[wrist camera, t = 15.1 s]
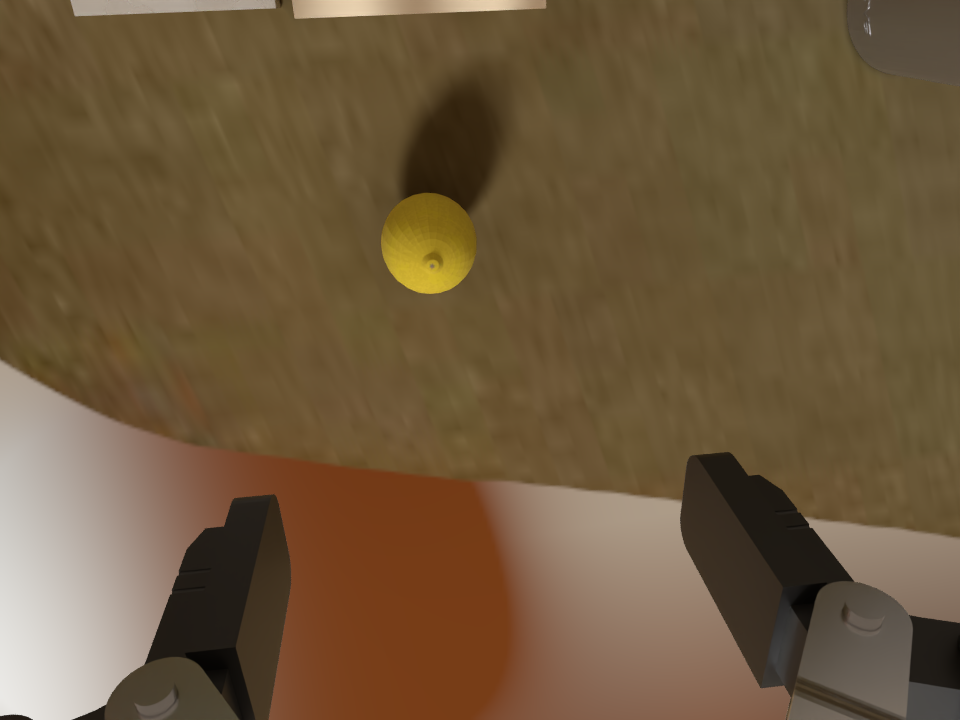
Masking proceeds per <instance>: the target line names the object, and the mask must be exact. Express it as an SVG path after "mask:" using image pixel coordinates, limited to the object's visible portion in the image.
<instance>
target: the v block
mask: <svg viewBox="0 0 960 720" xmlns="http://www.w3.org/2000/svg"><path fill="white" fill-rule="evenodd" d="M71 3H72V7H73V11H74V14H75V16H90V15H115V14H140V13H165V12H190V11H215V10H240V9H265V8H280V7H281V3H280V0H71Z"/></svg>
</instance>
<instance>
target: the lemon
mask: <svg viewBox="0 0 960 720" xmlns="http://www.w3.org/2000/svg"><path fill="white" fill-rule="evenodd" d="M381 247H382V252H383V257H384V260H385V262H386V264H387V266H388V268H389V270H390V272H391V273H392V274H393V275H394V277H395V278H396V279H397V280H398V281H399V282H400V283H402V284H403V285H405V286H406V287H407V288H409V289H412V290H414V291H417V292H420V293H427V294H432V293H440V292H443V291H446V290H449V289H451V288H453V287H454V286H456V285H457V284H459V283H460V282H461V281H462V280H463V279H464V278H465V276H466V275H467V274H468V272H469V270H470V268H471V267H472V265H473V262H474V258H475V254H476V234H475V230H474V226H473V223H472V221H471V220H470V218H469V216H468V214H467V213H466V211H465V210H464V209H463V208H462V207H461V206H460V205H459V204H458V203H456V202H455V201H453V200H451V199H450V198H448V197H446V196H443V195H440V194H436V193H421V194H416V195H412V196H410V197H408V198H406V199H404V200H402V201H401V202H400V203H399V204H398V205H396V206H395V207H394V208H393V210H392V211H391V212H390V214H389V215H388V217H387V219H386V221H385V224H384V227H383V230H382V238H381Z"/></svg>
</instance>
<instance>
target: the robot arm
mask: <svg viewBox="0 0 960 720" xmlns="http://www.w3.org/2000/svg"><path fill="white" fill-rule="evenodd" d="M847 21H848V30H849V33H850V36H851V39H852V43H853V45H854V47H855V48H856V50H857V52H858V53H859V55H860V56H861V58H862V59H863V60H865V61H866V62H867V63H868V64H869V65H870V66H871V67H873V68H875V69H877V70H879V71H881V72H883V73H887V74H893V75H898V76H904V77H910V78H916V79H921V80H927V81H931V82H937V83H943V84H949V85H955V86H960V0H848V5H847ZM680 521H681V522H680V524H681V532H682V537H683V540H684V544H685V547H686V549H687V551H688V553H689V555H690V556H691V558H692V560H693V562H694V564H695V566H696V568H697V570H698V571H699V573H700V575H701V577H702V579H703V581H704V583H705V585H706V586H707V588H708V590H709V592H710V594H711V596H712V598H713V599H714V602H715V603H716V605H717V607H718V609H719V611H720V613H721V615H722V616H723V618H724V620H725V622H726V624H727V626H728V628H729V630H730V631H731V633H732V635H733V637H734V639H735V641H736V643H737V645H738V647H739V648H740V650H741V652H742V654H743V656H744V658H745V660H746V662H747V663H748V665H749V667H750V669H751V671H752V673H753V675H754V677H755V678H756V680H757V682H758V684H759V686H760V688H766V687H775V686H783V685H784V686H785V688H786V690H787V691H788V693H789V695H790V697H791V699H790V703H789V707H788V711H787V715H786V720H960V623H956V622H948V621H942V620H935V619H928V618H921V617H916V616H910V615H908V613H907V612H906V610H905V609H904V608H903V607H902V606H901V605H900V604H899V603H898V602H897V601H896V600H895V599H893V598H892V597H891V596H889V595H888V594H886V593H884V592H883V591H880V590H878V589H877V588H874V587H871V586H869V585H866V584H862V583H858V582H854V581H853V579H852V578H851V577H850V576H849V574H848V573H847V572H846V571H845V569H844V568H843V567H842V565H841V564H840V563H839V561H837V559H836V558H835V556H834V555H833V554H832V553H831V551H830V550H829V549H828V548H827V547H826V545H825V544H824V542H823V541H822V540H821V539H820V537H819V536H818V535H817V534H816V532H815V531H814V530H813V528H810V527H809V523H808V522H807V521H806V520H805V518H804V517H803V516H802V515H801V513H798V512H797V508H796V507H795V506H794V504H793V503H792V502H791V501H790V499H789V498H788V497H787V495H786V494H785V493H784V492H783V490H781V489H780V488H778V487H777V486H775V485H774V484H772V483H771V482H769V481H768V480H766V479H765V478H763V477H762V476H760V475H753V476H748V475H747V473H746V472H745V471H744V469H743V468H742V467H741V465H740V464H739V462H738V461H737V460H736V458H735V457H734V456H733V455H732V454H731V453H729V452H724V453H713V454H703V455H692V456H690V457H689V459H688V462H687V467H686V475H685V483H684V491H683V500H682V508H681V517H680ZM290 586H291V565H290V556H289V551H288V546H287V542H286V537H285V532H284V527H283V523H282V518H281V513H280V508H279V503H278V500H277V497H276V496H275V495H274V494H273V495H263V496H252V497H242V498H234V499H233V501H232V503H231V506H230V510H229V513H228V516H227V519H226V522H225V525H224V527H216V528H207V529H205V530H204V531H203V532H202V533H201V534H200V535H199V536H198V538H197V539H196V540H195V541H194V542H193V543H192V544H191V545H190V546H189V547H188V549H187V550H186V553H185V556H184V559H183V561H182V564H181V567H180V569H179V576H177V578H176V580H175V583H174V586H173V588H172V594H171V595H170V597H169V599H168V602H167V605H166V608H165V610H164V613H163V616H162V619H161V621H160V624H159V627H158V629H157V632H156V635H155V638H154V640H153V643H152V646H151V649H150V651H149V654H148V657H147V660H146V662H145V664H144V665H143V666H142V667H140V668H138V669H136V670H135V671H133V672H132V673H130V674H129V675H128V676H127V677H126V678H124V679H123V680H122V682H120V684H119V685H118V686H117V687H116V688H115V690H114V691H113V692H112V694H111V696H110V697H109V699H108V702H107V704H106V705H105V706H103V707H101V708H99V709H97V710H95V711H93V712H90V713H88V714H86V715H83V716H80V717H78V718H75V719H73V720H268V719H269V713H270V707H271V701H272V695H273V688H274V683H275V677H276V671H277V665H278V659H279V653H280V647H281V641H282V635H283V629H284V623H285V618H286V612H287V605H288V599H289V594H290ZM0 720H32V719H31V718H29V717H26V716H22V715H4V716H0Z"/></svg>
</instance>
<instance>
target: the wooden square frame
mask: <svg viewBox="0 0 960 720" xmlns="http://www.w3.org/2000/svg"><path fill="white" fill-rule="evenodd" d="M292 3H293V10H294V17H295V19H297V18H321V17H346V16H370V15H394V14H418V13H443V12H467V11H491V10H516V9H540V8H546V0H292Z"/></svg>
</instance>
